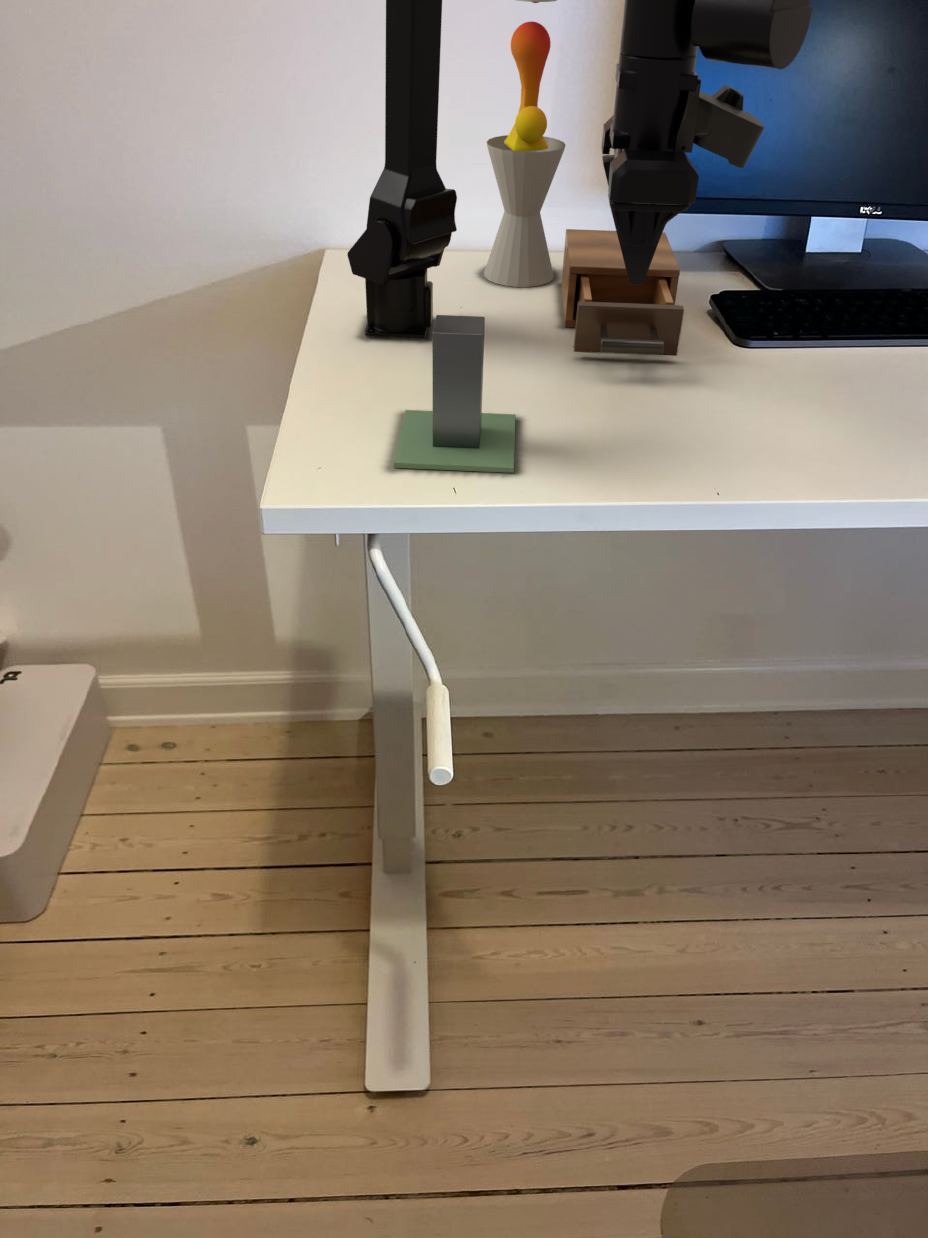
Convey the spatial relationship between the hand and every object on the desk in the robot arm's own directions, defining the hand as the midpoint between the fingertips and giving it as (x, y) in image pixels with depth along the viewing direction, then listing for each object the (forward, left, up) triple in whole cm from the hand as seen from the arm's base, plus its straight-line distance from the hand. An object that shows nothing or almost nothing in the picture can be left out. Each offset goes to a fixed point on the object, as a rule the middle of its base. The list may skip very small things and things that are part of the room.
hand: (632, 266), depth 81 cm
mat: (-14, -8, -13) cm, 21 cm away
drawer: (+2, +15, -12) cm, 20 cm away
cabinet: (+2, +27, -13) cm, 30 cm away
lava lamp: (-9, +37, -13) cm, 41 cm away
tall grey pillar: (-14, -8, -13) cm, 21 cm away
